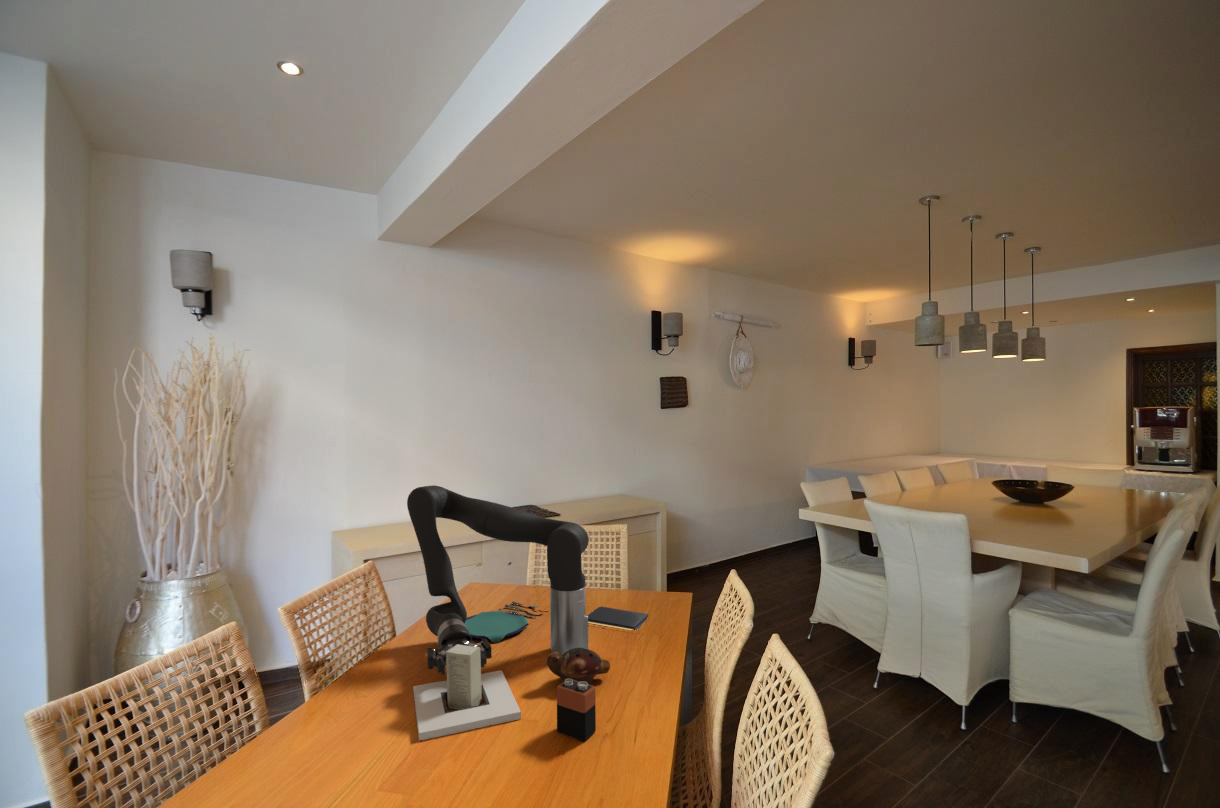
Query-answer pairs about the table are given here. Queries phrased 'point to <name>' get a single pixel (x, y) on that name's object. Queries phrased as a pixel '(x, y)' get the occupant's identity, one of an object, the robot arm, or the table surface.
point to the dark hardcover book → (617, 618)
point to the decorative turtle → (577, 665)
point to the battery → (576, 709)
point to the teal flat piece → (496, 623)
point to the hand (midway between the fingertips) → (463, 666)
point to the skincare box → (463, 676)
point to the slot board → (442, 722)
